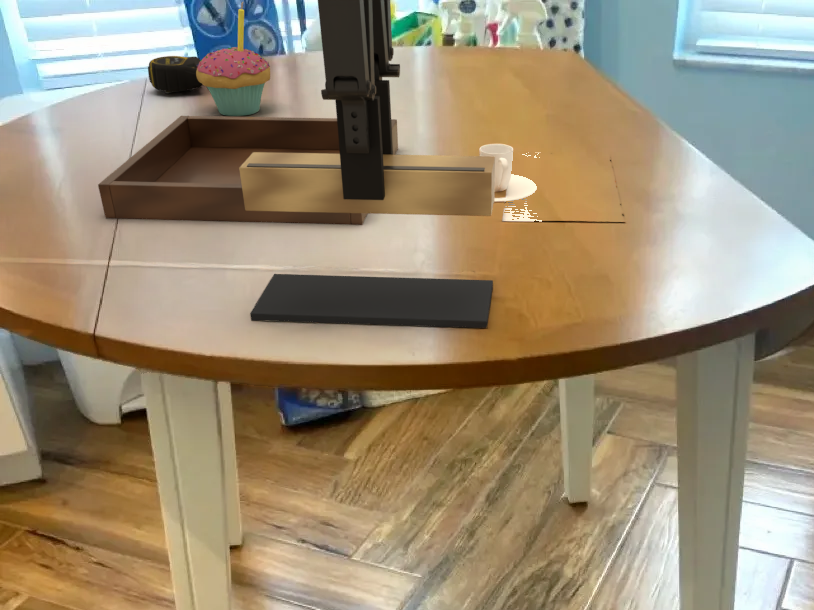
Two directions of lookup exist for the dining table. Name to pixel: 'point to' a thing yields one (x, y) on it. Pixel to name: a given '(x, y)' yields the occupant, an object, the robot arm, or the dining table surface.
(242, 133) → the box
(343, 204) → the grooved wooden beam
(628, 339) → the dining table surface
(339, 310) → the mat
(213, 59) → the cupcake
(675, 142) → the dining table surface
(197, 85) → the tape measure
